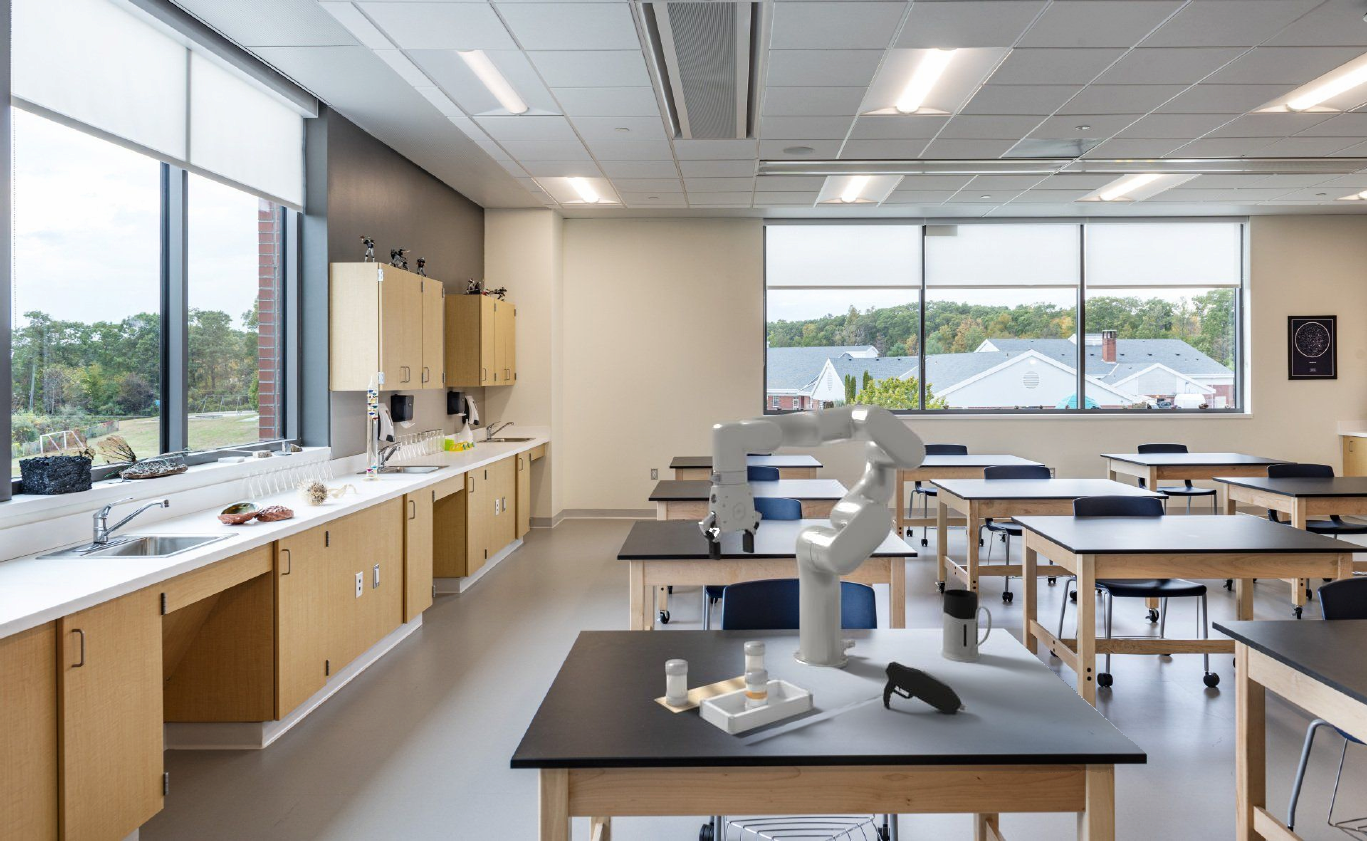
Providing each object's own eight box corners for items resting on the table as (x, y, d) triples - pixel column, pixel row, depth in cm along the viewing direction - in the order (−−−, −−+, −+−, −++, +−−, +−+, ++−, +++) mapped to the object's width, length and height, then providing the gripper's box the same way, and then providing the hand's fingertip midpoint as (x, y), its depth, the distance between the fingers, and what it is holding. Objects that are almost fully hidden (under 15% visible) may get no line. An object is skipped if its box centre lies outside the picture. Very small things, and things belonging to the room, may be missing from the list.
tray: (779, 697, 161) (779, 678, 161) (813, 714, 153) (812, 693, 153) (699, 721, 150) (699, 700, 150) (731, 740, 142) (731, 718, 141)
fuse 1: (680, 696, 160) (679, 657, 159) (692, 703, 156) (691, 664, 156) (661, 701, 157) (661, 662, 157) (673, 708, 153) (673, 668, 153)
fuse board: (754, 677, 173) (754, 672, 173) (777, 688, 166) (777, 683, 166) (653, 704, 158) (653, 699, 158) (675, 717, 152) (675, 712, 152)
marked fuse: (772, 713, 151) (772, 672, 150) (754, 719, 148) (754, 677, 148) (758, 706, 154) (758, 666, 154) (740, 711, 152) (740, 670, 152)
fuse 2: (756, 676, 171) (756, 639, 170) (769, 682, 167) (769, 645, 167) (740, 680, 168) (740, 643, 168) (753, 686, 165) (753, 649, 164)
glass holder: (962, 648, 191) (962, 587, 190) (1005, 666, 178) (1005, 601, 177) (933, 652, 188) (933, 590, 187) (974, 672, 174) (974, 605, 174)
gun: (946, 743, 152) (971, 699, 151) (870, 701, 154) (895, 657, 153) (944, 737, 155) (969, 694, 154) (870, 695, 157) (893, 653, 156)
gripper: (710, 483, 163) (712, 565, 164) (770, 476, 174) (772, 552, 175) (688, 481, 169) (690, 559, 170) (748, 473, 180) (749, 547, 181)
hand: (732, 555), depth 172 cm, fingers open, 9 cm apart
